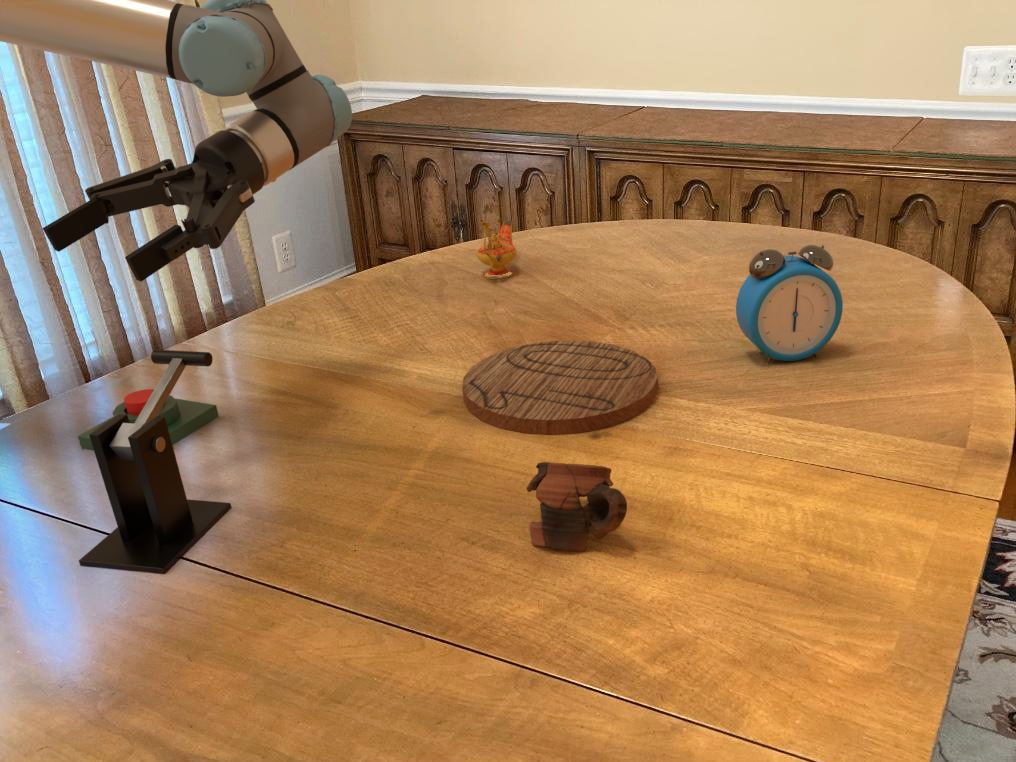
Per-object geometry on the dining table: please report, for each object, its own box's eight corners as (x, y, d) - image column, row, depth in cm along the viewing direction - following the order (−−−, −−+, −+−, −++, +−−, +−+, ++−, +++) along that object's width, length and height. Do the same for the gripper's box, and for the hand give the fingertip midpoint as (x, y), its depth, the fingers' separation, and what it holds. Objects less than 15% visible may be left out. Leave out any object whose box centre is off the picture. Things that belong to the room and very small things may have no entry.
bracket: (155, 505, 103) (124, 396, 97) (233, 512, 102) (205, 401, 96) (81, 571, 93) (41, 452, 87) (166, 579, 91) (131, 459, 85)
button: (120, 414, 115) (116, 400, 114) (145, 400, 119) (141, 387, 118) (146, 418, 114) (142, 405, 113) (171, 404, 117) (167, 391, 116)
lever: (163, 359, 101) (152, 343, 99) (216, 362, 99) (206, 345, 98) (103, 460, 93) (90, 444, 91) (160, 464, 92) (148, 448, 90)
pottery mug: (502, 543, 96) (509, 459, 96) (568, 543, 103) (574, 465, 103) (594, 555, 88) (601, 464, 88) (658, 555, 95) (664, 470, 95)
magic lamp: (530, 256, 178) (526, 195, 173) (507, 288, 163) (502, 222, 158) (494, 256, 179) (489, 195, 174) (468, 287, 164) (461, 222, 159)
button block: (82, 452, 115) (72, 422, 113) (157, 410, 125) (149, 381, 123) (148, 465, 111) (139, 434, 110) (220, 420, 121) (213, 391, 119)
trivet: (623, 446, 112) (623, 431, 111) (428, 420, 119) (426, 406, 118) (679, 363, 133) (679, 349, 132) (510, 345, 140) (509, 333, 139)
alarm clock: (748, 369, 130) (753, 259, 123) (732, 352, 135) (736, 246, 128) (839, 357, 133) (849, 249, 125) (820, 341, 138) (828, 236, 131)
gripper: (331, 209, 109) (185, 314, 97) (183, 169, 120) (36, 258, 108) (310, 147, 104) (154, 249, 92) (158, 110, 115) (0, 197, 103)
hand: (90, 254), depth 100 cm, fingers open, 13 cm apart
